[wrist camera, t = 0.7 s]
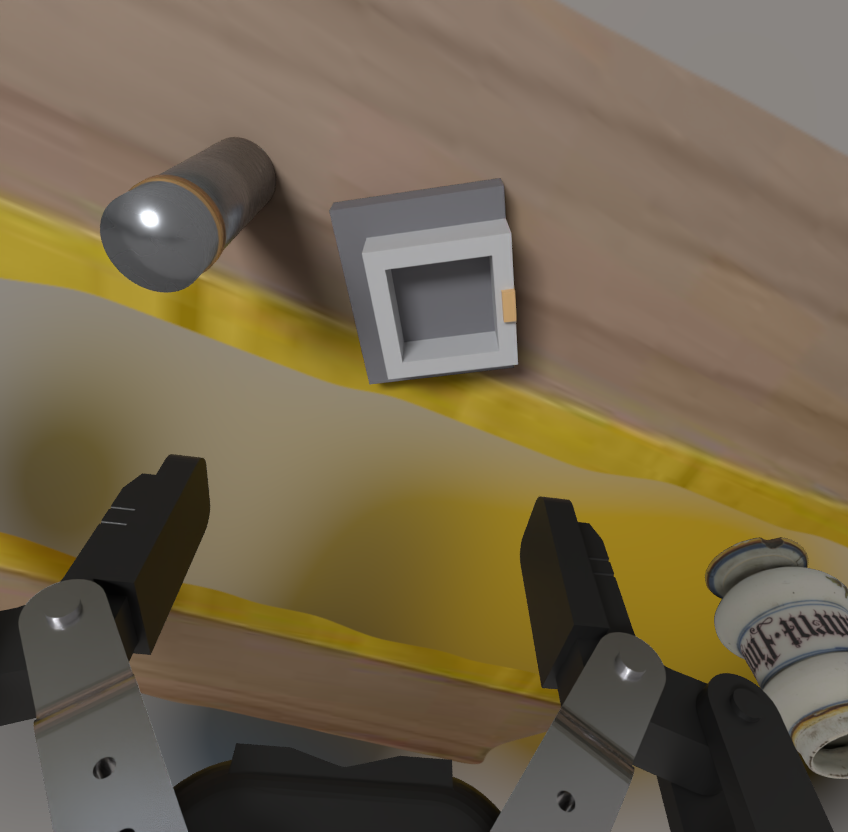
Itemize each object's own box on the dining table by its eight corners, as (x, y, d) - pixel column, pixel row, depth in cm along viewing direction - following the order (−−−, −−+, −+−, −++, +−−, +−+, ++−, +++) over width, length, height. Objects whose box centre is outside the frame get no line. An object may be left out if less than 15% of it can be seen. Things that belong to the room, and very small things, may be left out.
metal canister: (219, 216, 37) (126, 300, 26) (194, 141, 35) (77, 198, 23) (286, 206, 37) (221, 287, 26) (265, 130, 34) (182, 182, 23)
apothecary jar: (832, 522, 53) (985, 712, 39) (800, 600, 60) (920, 787, 45) (702, 533, 54) (803, 722, 40) (685, 609, 61) (766, 793, 46)
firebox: (371, 371, 44) (365, 410, 40) (333, 202, 37) (320, 227, 32) (510, 354, 43) (520, 392, 39) (500, 178, 36) (510, 200, 31)
